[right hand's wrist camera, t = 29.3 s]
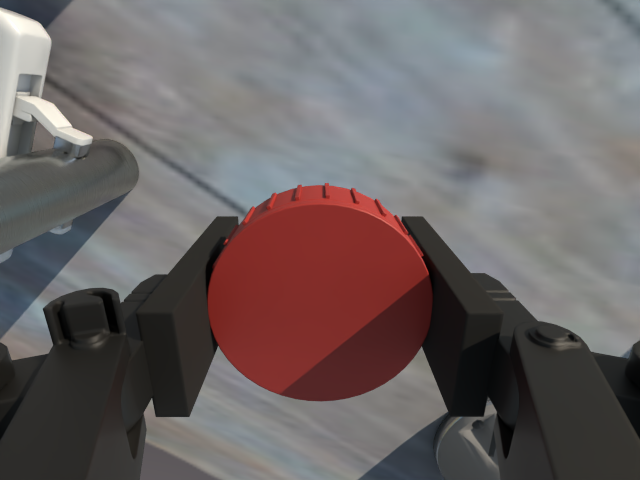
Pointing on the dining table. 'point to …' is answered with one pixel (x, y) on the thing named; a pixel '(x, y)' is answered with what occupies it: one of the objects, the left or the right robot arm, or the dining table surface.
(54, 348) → the right robot arm
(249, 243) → the lid
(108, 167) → the jar
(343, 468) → the dining table surface
